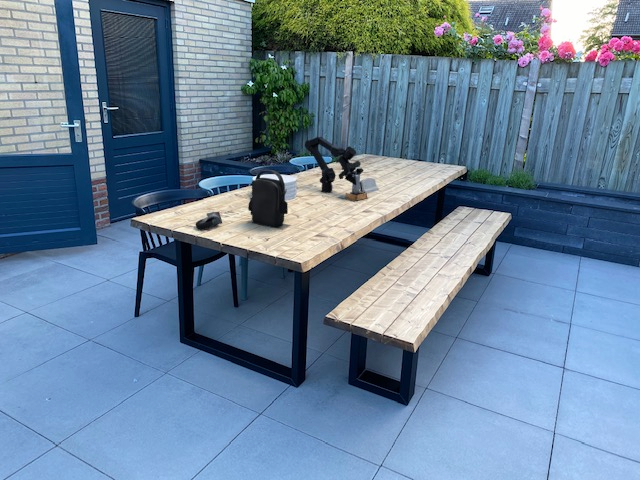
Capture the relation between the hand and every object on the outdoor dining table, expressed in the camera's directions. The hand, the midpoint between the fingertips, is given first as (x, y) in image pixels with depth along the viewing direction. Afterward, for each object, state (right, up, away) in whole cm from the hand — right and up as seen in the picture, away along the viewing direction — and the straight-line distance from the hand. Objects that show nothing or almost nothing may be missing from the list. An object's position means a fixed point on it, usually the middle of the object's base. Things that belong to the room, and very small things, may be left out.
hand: (357, 184), depth 306 cm
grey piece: (-1, -6, +3) cm, 7 cm away
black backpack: (-50, -27, -56) cm, 80 cm away
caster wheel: (-79, -30, -66) cm, 107 cm away
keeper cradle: (-2, -8, +5) cm, 10 cm away
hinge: (+9, -2, +27) cm, 28 cm away
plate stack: (-53, -7, +4) cm, 54 cm away
